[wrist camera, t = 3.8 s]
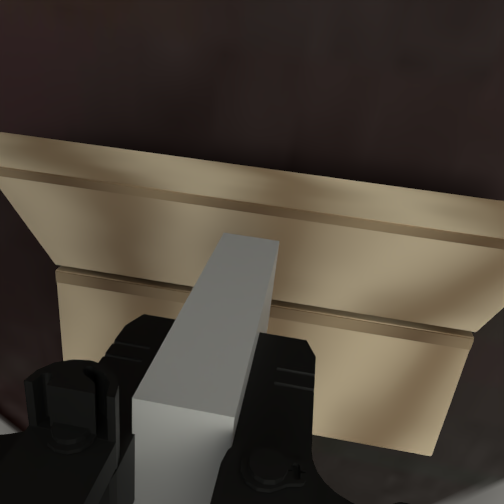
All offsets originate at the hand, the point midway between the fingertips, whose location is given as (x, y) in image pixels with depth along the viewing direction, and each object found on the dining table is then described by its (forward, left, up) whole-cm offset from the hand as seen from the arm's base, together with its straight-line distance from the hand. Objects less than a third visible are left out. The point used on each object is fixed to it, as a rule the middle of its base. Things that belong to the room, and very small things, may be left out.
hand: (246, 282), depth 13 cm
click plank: (0, -1, -7) cm, 7 cm away
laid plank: (0, -9, -10) cm, 13 cm away
